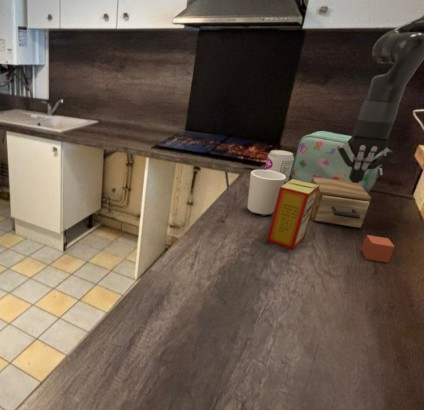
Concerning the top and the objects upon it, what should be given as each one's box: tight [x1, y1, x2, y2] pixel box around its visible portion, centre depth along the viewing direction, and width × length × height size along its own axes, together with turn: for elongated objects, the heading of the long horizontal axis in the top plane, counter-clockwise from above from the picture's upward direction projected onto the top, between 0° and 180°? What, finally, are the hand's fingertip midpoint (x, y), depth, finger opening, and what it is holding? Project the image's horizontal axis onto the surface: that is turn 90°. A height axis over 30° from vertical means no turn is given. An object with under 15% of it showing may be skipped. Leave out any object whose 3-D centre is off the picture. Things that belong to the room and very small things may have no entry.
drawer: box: [315, 194, 371, 228], centre depth 108 cm, size 18×11×8 cm, turn 158°
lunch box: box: [291, 130, 383, 194], centre depth 130 cm, size 27×10×21 cm, turn 34°
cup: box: [247, 169, 286, 217], centre depth 112 cm, size 10×10×13 cm
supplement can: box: [264, 149, 295, 184], centre depth 128 cm, size 8×8×15 cm
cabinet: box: [310, 177, 372, 229], centre depth 112 cm, size 15×13×10 cm
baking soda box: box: [266, 178, 320, 250], centre depth 95 cm, size 10×6×16 cm
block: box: [360, 234, 396, 264], centre depth 90 cm, size 5×5×5 cm
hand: (354, 181), depth 99 cm, fingers closed
